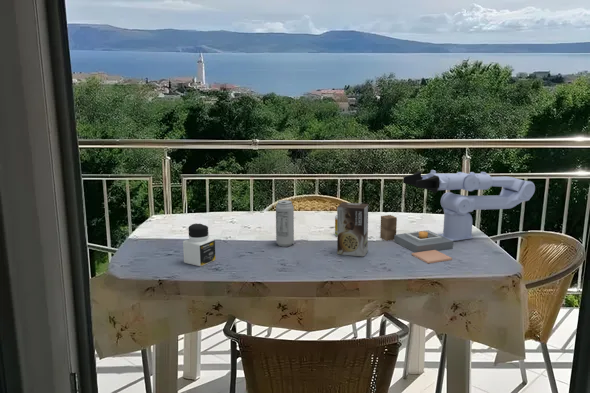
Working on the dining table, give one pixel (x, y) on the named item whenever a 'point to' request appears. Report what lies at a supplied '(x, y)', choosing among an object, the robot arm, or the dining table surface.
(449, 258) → the terracotta tile
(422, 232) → the button
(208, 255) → the medicine bottle
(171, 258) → the dining table surface
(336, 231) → the supplement bottle
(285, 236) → the energy drink can
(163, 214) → the dining table surface
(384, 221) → the brown rectangular block
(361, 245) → the coffee box
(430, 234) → the grey square socket base
